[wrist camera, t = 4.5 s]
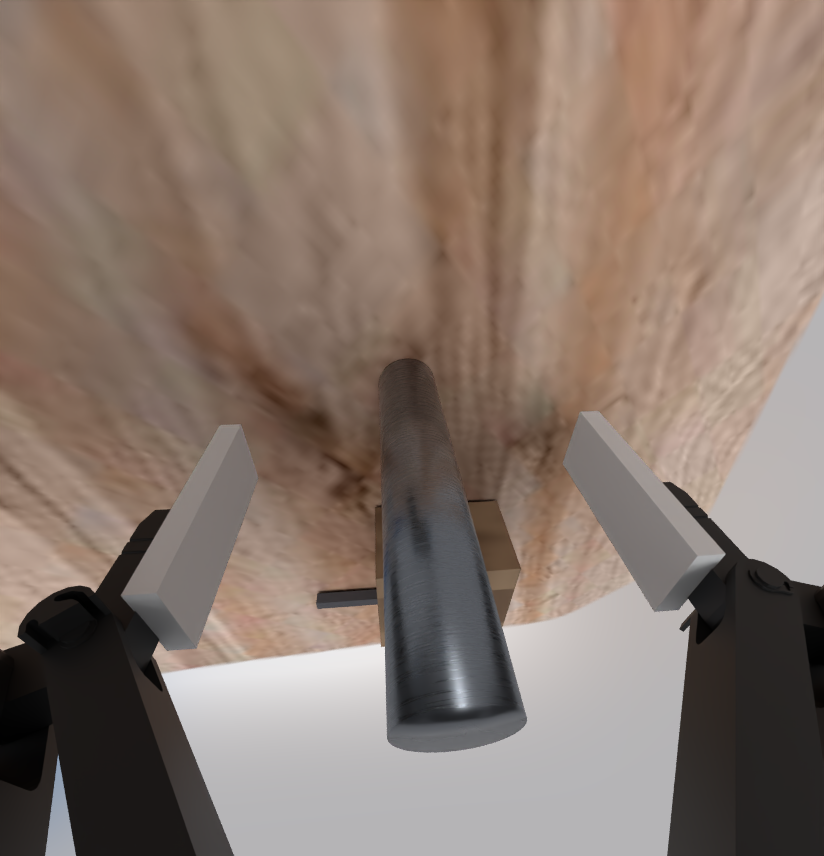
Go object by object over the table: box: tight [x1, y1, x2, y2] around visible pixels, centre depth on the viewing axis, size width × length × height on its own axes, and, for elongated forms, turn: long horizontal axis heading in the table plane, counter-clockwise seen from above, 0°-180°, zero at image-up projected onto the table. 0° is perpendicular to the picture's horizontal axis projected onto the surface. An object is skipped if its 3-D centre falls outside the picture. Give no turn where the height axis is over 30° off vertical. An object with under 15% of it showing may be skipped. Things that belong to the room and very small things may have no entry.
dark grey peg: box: [379, 359, 527, 752], centre depth 13 cm, size 3×3×14 cm
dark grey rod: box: [316, 589, 378, 609], centre depth 30 cm, size 14×1×1 cm, turn 89°
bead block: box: [375, 501, 521, 647], centre depth 24 cm, size 8×8×5 cm
